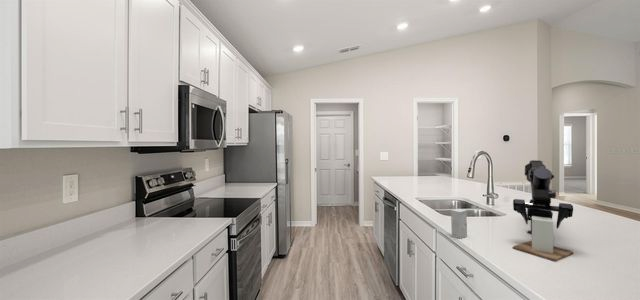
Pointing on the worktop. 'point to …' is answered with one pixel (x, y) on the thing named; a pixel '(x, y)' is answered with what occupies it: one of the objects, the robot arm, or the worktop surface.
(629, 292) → the worktop surface
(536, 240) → the pale green box
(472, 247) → the worktop surface
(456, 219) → the skincare box
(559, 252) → the flat brown board
